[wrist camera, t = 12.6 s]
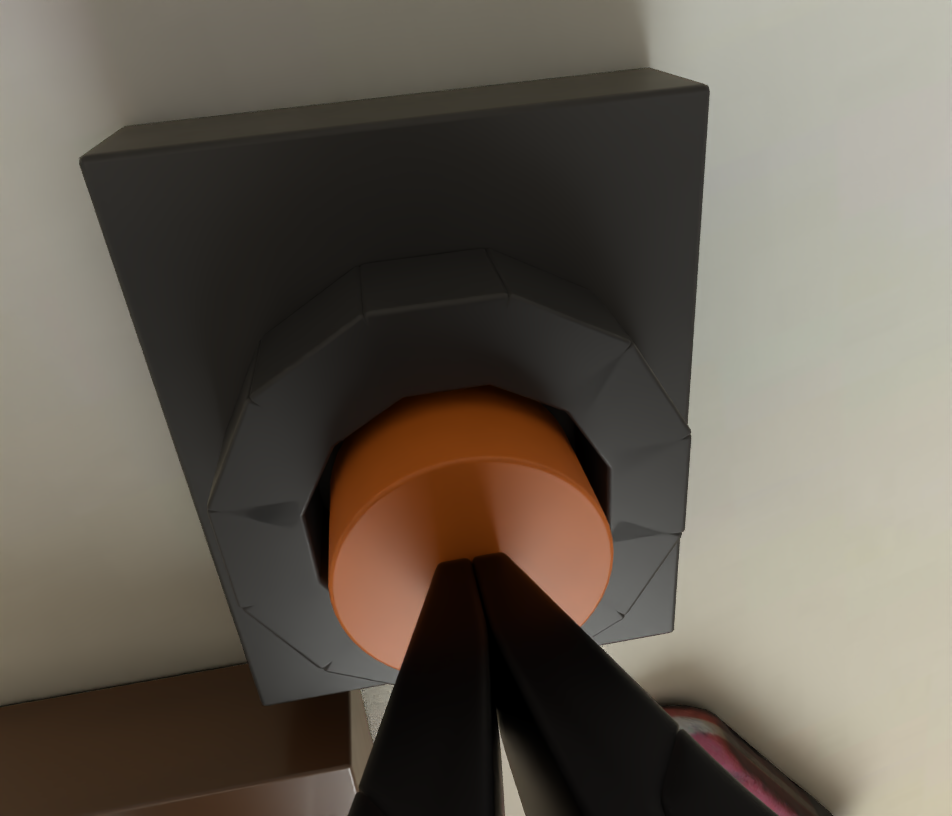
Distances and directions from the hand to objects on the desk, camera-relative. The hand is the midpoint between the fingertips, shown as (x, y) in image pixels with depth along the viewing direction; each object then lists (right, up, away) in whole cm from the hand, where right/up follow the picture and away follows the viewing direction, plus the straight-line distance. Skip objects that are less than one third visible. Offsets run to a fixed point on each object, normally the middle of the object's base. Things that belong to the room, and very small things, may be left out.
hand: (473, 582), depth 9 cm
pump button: (0, +1, +2) cm, 2 cm away
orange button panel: (-1, +3, +4) cm, 5 cm away
